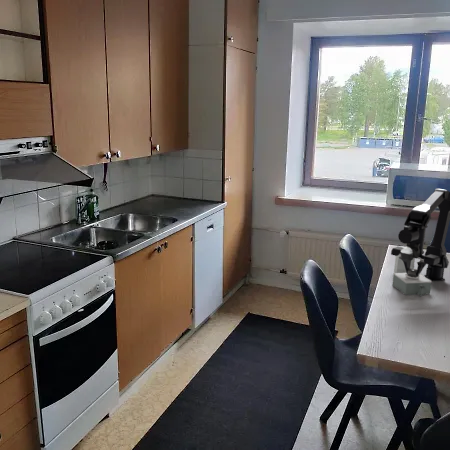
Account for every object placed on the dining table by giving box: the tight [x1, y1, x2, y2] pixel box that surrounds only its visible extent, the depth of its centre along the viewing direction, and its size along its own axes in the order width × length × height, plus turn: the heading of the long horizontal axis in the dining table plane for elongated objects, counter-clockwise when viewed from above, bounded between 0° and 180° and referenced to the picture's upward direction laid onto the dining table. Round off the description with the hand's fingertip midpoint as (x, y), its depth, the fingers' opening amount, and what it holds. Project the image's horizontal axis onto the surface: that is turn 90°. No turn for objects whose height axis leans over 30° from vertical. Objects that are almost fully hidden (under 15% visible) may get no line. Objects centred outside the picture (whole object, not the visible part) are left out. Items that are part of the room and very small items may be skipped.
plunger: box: [405, 268, 420, 279], centre depth 199 cm, size 8×8×8 cm
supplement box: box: [393, 245, 416, 274], centre depth 216 cm, size 7×7×13 cm
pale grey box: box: [391, 272, 433, 297], centre depth 198 cm, size 11×14×6 cm
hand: (412, 274), depth 198 cm, fingers closed on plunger, 4 cm apart
